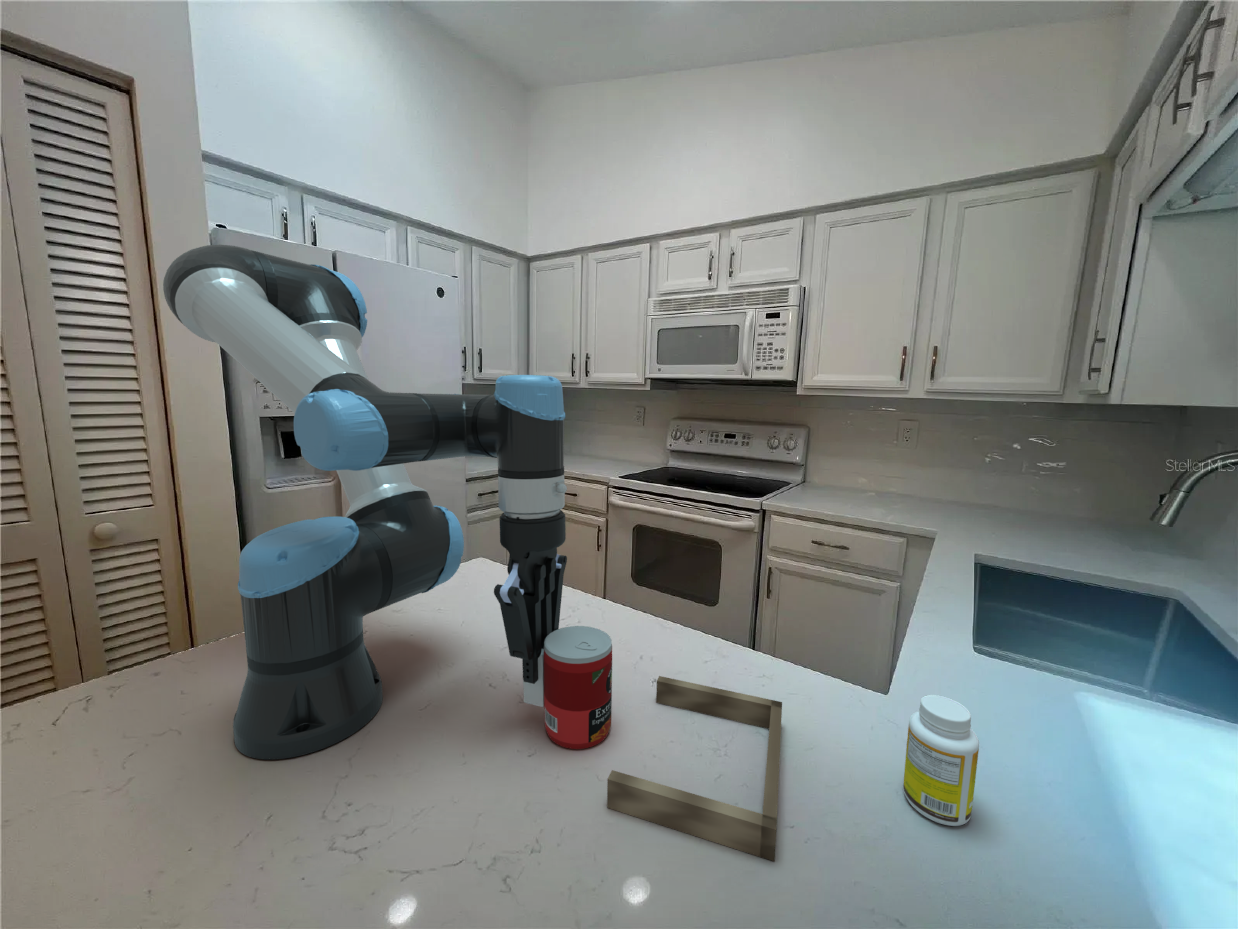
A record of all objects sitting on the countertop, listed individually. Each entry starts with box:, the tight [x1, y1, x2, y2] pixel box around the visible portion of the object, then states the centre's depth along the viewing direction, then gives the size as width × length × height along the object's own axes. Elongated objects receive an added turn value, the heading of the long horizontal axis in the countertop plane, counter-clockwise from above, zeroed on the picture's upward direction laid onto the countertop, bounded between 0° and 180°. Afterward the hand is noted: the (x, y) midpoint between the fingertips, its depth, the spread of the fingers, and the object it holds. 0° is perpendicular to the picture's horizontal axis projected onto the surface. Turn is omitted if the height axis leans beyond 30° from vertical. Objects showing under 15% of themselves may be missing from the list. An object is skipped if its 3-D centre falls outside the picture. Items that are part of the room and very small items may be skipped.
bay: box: [606, 675, 783, 863], centre depth 51 cm, size 15×18×3 cm
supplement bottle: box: [902, 694, 980, 827], centre depth 46 cm, size 6×6×10 cm
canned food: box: [543, 625, 613, 750], centre depth 56 cm, size 8×8×11 cm
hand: (536, 701), depth 58 cm, fingers closed
